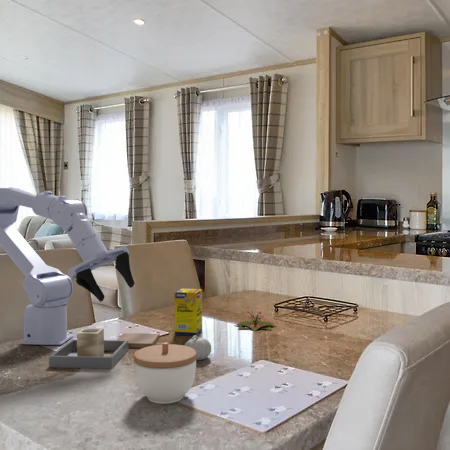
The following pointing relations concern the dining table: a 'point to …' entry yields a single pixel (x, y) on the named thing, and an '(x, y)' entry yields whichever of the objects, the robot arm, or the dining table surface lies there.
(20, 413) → the dining table surface
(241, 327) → the lily flower
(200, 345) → the garlic
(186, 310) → the supplement box
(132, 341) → the coaster
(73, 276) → the robot arm
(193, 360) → the lidded jar
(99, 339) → the box
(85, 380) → the dining table surface
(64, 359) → the bin
